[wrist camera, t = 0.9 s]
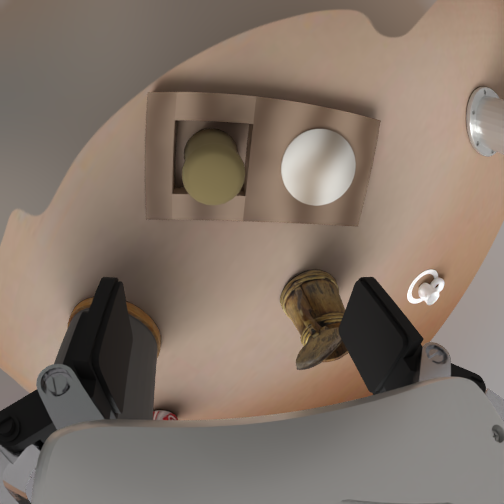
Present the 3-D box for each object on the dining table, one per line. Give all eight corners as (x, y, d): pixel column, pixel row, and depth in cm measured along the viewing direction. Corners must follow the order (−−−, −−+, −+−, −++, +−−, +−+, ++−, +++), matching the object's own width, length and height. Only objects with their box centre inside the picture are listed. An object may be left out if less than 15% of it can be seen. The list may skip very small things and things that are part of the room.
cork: (229, 185, 33) (241, 222, 24) (178, 174, 31) (168, 208, 22) (244, 135, 30) (263, 152, 21) (191, 123, 29) (185, 132, 19)
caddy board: (369, 118, 31) (382, 120, 29) (349, 218, 38) (359, 227, 35) (152, 93, 26) (147, 92, 24) (149, 211, 33) (145, 220, 30)
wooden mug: (300, 237, 38) (361, 332, 23) (344, 292, 44) (398, 378, 29) (249, 277, 40) (278, 386, 24) (301, 324, 46) (338, 416, 31)
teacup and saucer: (444, 275, 48) (455, 286, 45) (421, 305, 51) (432, 318, 48) (423, 262, 45) (436, 275, 42) (399, 297, 48) (410, 310, 45)
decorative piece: (100, 277, 36) (38, 491, 10) (180, 336, 43) (188, 528, 18) (57, 329, 39) (10, 488, 14) (127, 374, 47) (116, 526, 21)
